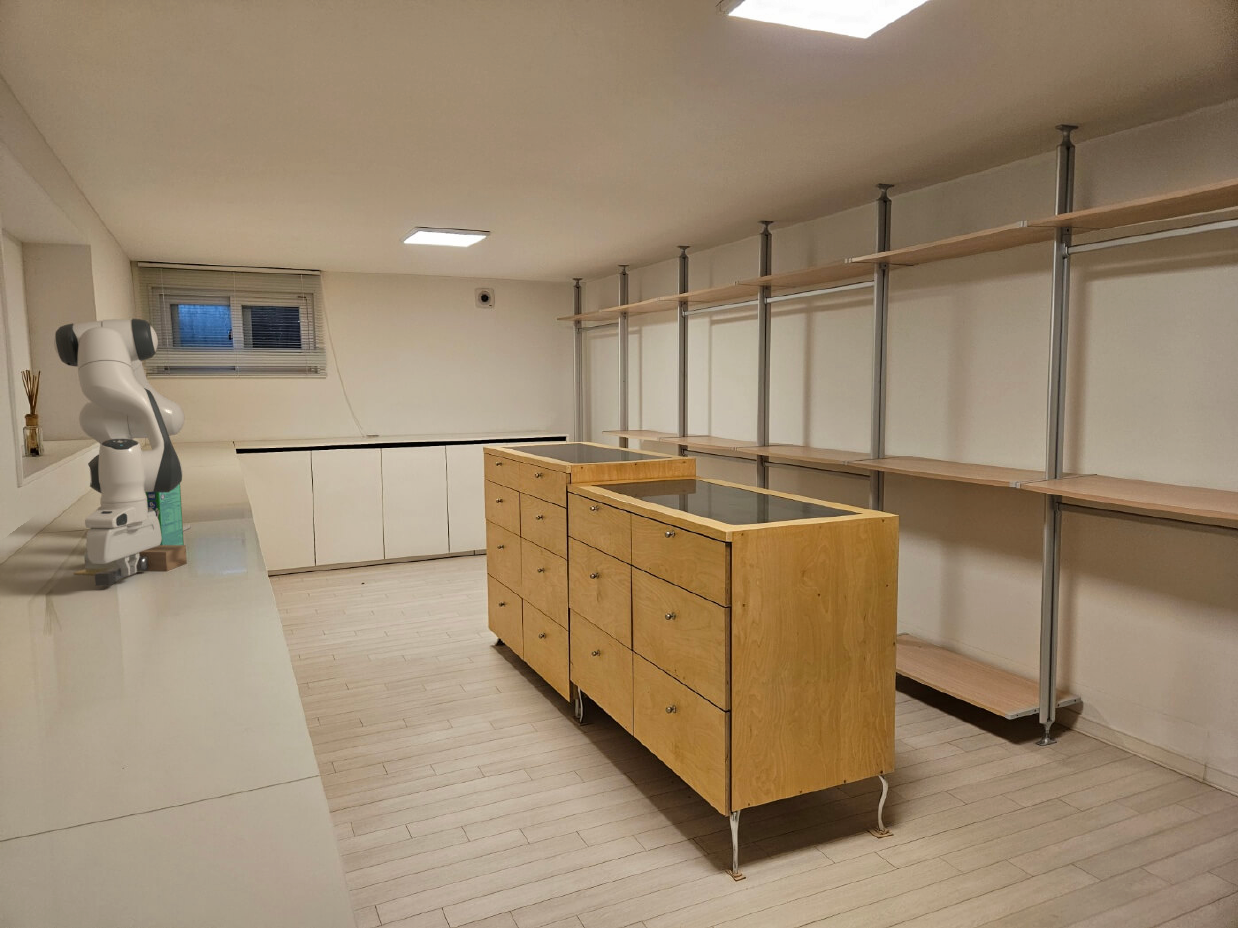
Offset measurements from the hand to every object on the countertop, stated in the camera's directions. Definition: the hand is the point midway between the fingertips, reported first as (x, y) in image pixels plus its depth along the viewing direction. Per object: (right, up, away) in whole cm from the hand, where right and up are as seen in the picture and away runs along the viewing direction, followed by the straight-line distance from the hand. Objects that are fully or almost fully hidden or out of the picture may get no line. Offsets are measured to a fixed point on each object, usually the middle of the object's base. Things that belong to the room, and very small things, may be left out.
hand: (128, 574), depth 183 cm
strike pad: (-11, -1, +9) cm, 14 cm away
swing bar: (-2, -1, +2) cm, 3 cm away
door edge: (-7, 0, +15) cm, 17 cm away
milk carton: (-10, +1, +29) cm, 31 cm away
